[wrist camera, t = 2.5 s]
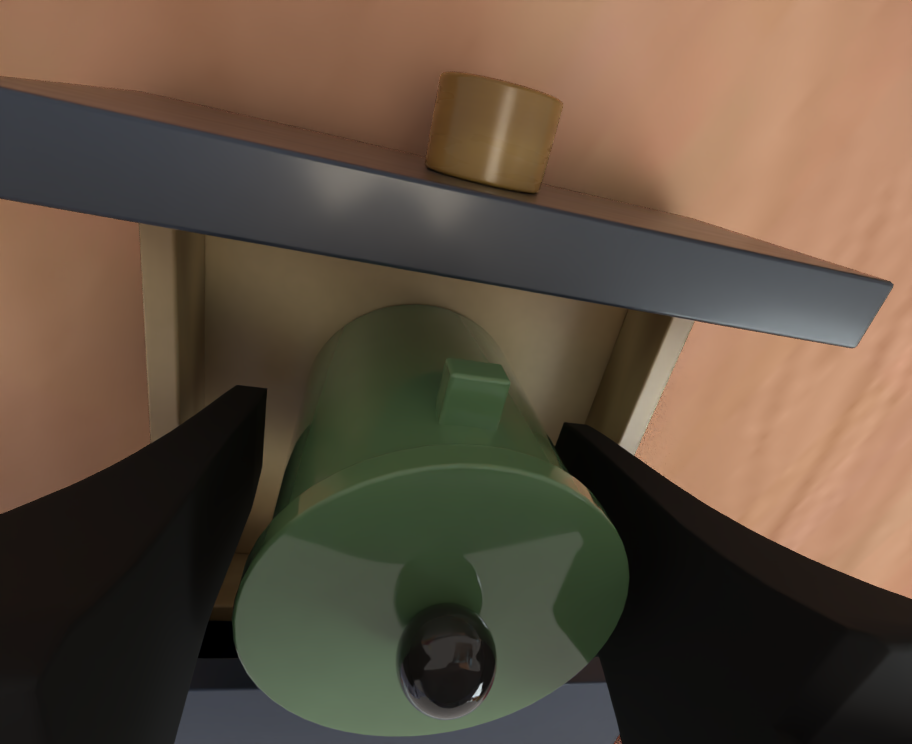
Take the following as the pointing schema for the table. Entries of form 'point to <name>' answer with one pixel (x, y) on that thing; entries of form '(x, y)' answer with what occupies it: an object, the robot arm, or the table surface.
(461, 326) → the pot
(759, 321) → the drawer
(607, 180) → the table surface
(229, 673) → the cabinet
